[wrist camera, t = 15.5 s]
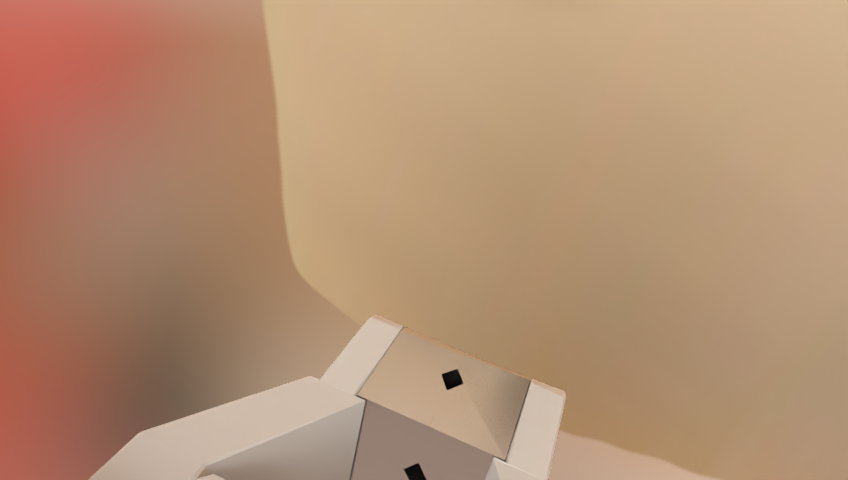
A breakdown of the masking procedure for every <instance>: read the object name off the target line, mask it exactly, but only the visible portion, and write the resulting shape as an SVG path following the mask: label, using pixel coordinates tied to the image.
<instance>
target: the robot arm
mask: <svg viewBox="0 0 848 480" xmlns="http://www.w3.org/2000/svg"><path fill="white" fill-rule="evenodd" d="M565 401H566V394H565V391H563V390H561V389H558V388H555V387H553V386H550V385H547V384H545V383H542V382H540V381H537V380H534V379H531V380H530V378H527V377H525V376H522V375H520V374H517V373H515V372H512V371H510V370H507V369H505V368H502V367H500V366H497V365H495V364H492V363H490V362H487V361H485V360H482V359H480V358H477V357H475V356H472V355H470V354H467V353H465V352H463V351H461V350H458V349H456V348H454V347H451V346H449V345H447V344H444V343H442V342H440V341H437V340H435V339H433V338H431V337H428V336H426V335H424V334H421V333H419V332H417V331H414V330H412V329H410V328H408V327H403V326H402V325H399V324H397V323H395V322H392V321H390V320H388V319H385V318H383V317H381V316H378V315H376V314H375V315H374V316H372V317H370V318H368V319H367V321H366V322H365V323H364V324H363V326H362V327H361V328H360V329H359V331H358V332H357V333H356V334H355V336H354V337H353V338H352V339H351V341H350V342H349V343H348V344H347V346H346V347H345V348H344V349H343V351H342V352H341V353H340V354H339V355H338V357H337V358H336V359H335V360H334V362H333V363H332V364H331V366H330V367H329V368H328V369H327V370H326V372H325V373H324V374H323V375H322V377H321V378H320V379H319V380H318V379H316V378H314V377H311V376H308V377H305V378H302V379H299V380H296V381H293V382H290V383H287V384H284V385H281V386H278V387H275V388H272V389H269V390H266V391H263V392H259V393H256V394H254V395H250V396H247V397H244V398H241V399H239V400H235V401H233V402H230V403H226V404H223V405H220V406H217V407H214V408H211V409H208V410H205V411H202V412H199V413H196V414H194V415H190V416H187V417H184V418H181V419H178V420H175V421H172V422H169V423H166V424H163V425H160V426H157V427H154V428H151V429H148V430H145V431H142V432H140V433H138V435H136V436H135V437H134V438H133V439H132V440H131V441H130V442H129V443H127V444H126V445H125V446H124V447H123V448H122V449H121V450H120V451H119V452H118V453H117V454H116V455H114V456H113V457H112V458H111V459H110V460H109V461H108V462H107V463H106V464H105V465H104V466H102V467H101V468H100V469H99V470H98V471H97V472H96V473H95V474H94V475H93V476H92V477H90V478H89V479H88V480H549V475H550V471H551V466H552V461H553V456H554V452H555V447H556V443H557V438H558V433H559V429H560V424H561V419H562V415H563V410H564V405H565Z"/></svg>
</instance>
